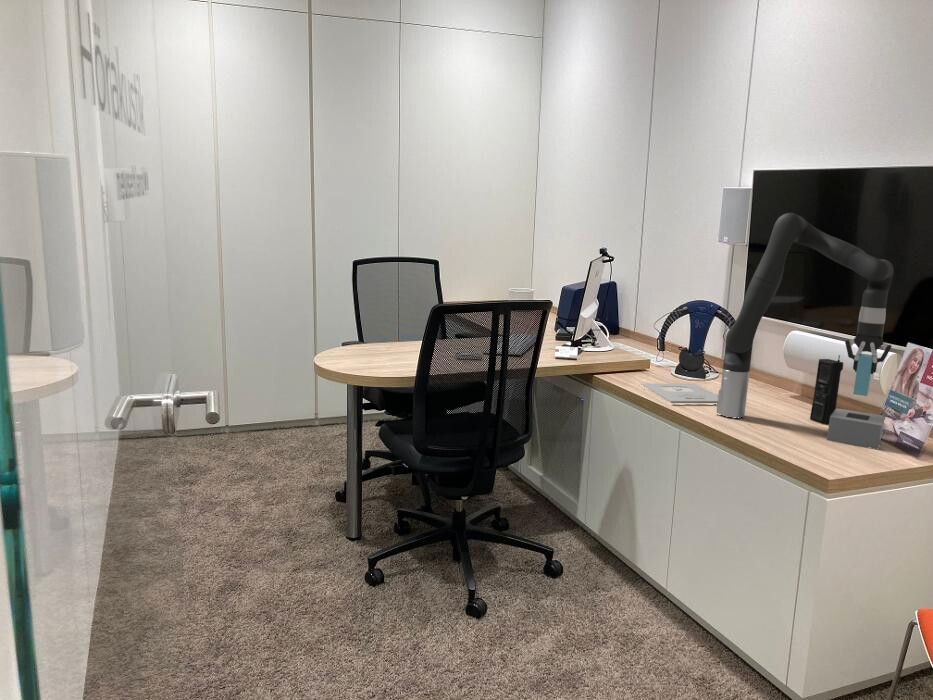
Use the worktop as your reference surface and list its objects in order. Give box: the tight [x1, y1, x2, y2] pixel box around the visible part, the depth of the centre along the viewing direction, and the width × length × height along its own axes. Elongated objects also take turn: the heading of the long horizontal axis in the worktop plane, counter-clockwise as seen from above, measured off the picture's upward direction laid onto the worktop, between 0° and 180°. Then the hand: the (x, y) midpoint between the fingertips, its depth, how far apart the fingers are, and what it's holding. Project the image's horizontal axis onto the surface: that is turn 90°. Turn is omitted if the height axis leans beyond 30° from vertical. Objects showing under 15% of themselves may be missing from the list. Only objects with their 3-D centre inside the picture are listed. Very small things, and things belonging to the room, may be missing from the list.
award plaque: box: [639, 382, 718, 403], centre depth 298 cm, size 25×30×2 cm
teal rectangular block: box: [852, 353, 873, 397], centre depth 241 cm, size 4×5×13 cm
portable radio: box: [809, 354, 844, 425], centre depth 265 cm, size 8×6×25 cm
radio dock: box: [826, 407, 886, 449], centre depth 245 cm, size 15×15×8 cm
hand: (864, 372), depth 241 cm, fingers closed on teal rectangular block, 4 cm apart
